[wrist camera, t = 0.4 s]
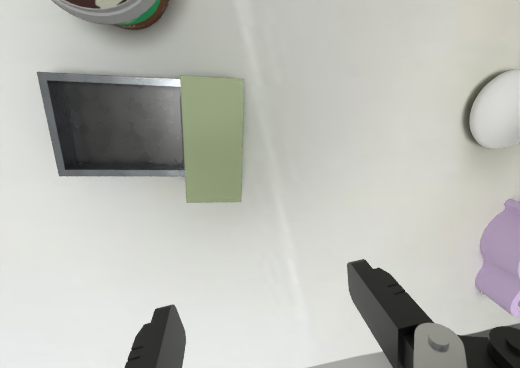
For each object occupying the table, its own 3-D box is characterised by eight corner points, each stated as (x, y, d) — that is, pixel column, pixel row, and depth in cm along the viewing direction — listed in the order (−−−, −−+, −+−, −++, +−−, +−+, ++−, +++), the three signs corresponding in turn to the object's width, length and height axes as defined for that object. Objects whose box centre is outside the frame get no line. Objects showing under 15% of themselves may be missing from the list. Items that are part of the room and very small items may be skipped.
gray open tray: (56, 74, 31) (36, 71, 28) (188, 81, 33) (184, 79, 30) (74, 168, 35) (59, 176, 31) (192, 169, 37) (189, 176, 34)
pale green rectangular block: (186, 79, 33) (177, 75, 26) (239, 81, 34) (243, 78, 27) (190, 183, 37) (184, 202, 31) (238, 183, 38) (241, 201, 32)
